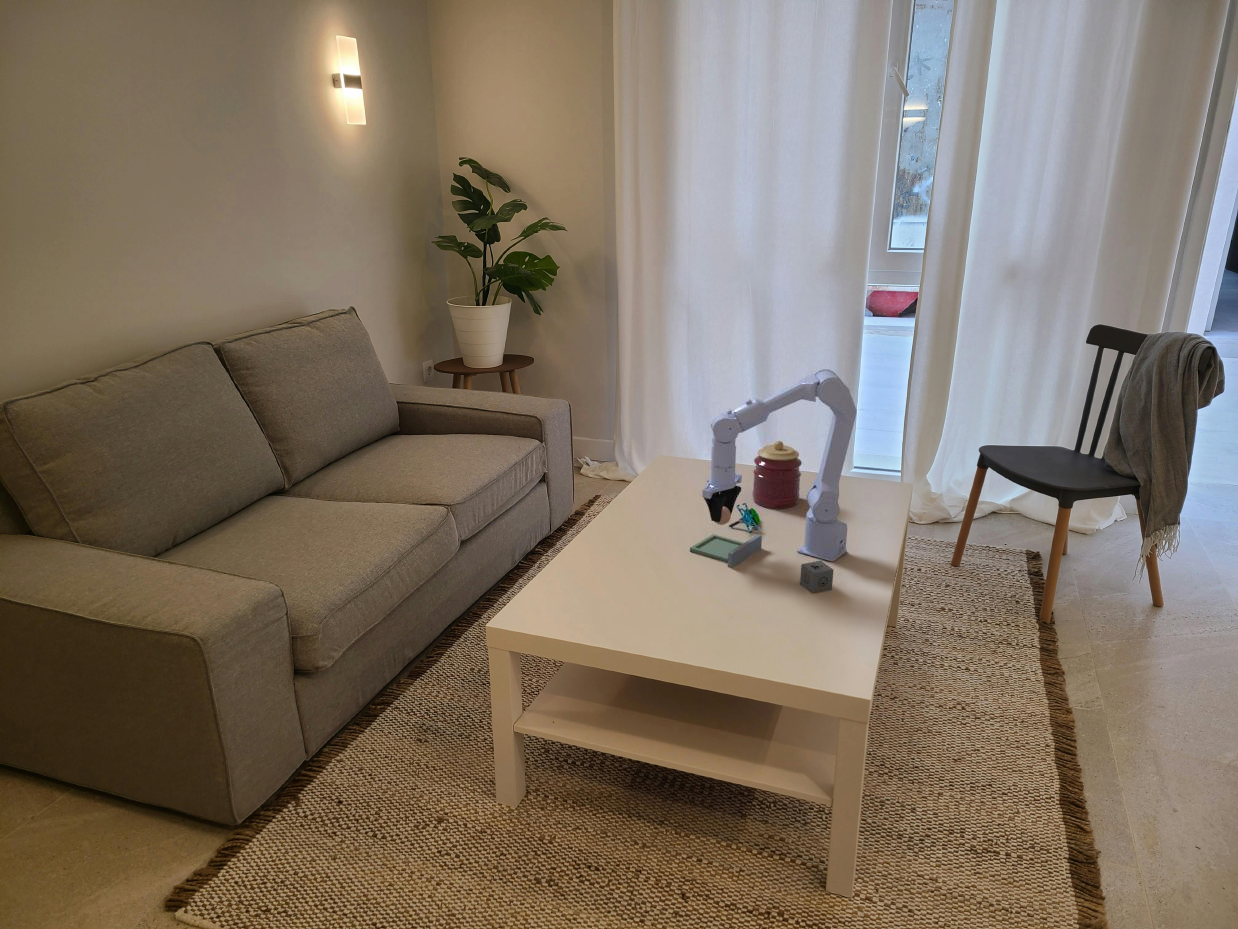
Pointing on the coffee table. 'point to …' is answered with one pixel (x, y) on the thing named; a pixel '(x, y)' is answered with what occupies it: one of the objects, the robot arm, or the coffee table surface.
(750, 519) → the stick construction toy
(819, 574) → the dice cube
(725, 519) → the rubber ball
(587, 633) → the coffee table surface
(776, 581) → the coffee table surface
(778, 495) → the canister
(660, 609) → the coffee table surface
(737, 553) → the low wall
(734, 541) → the green tray
